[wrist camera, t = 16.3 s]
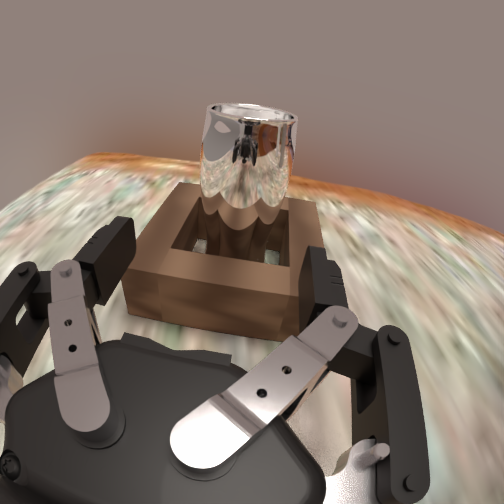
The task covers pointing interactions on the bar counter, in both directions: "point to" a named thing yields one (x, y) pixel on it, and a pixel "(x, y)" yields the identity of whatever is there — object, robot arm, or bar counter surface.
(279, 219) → the walnut well block
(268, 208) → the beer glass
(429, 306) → the bar counter surface
